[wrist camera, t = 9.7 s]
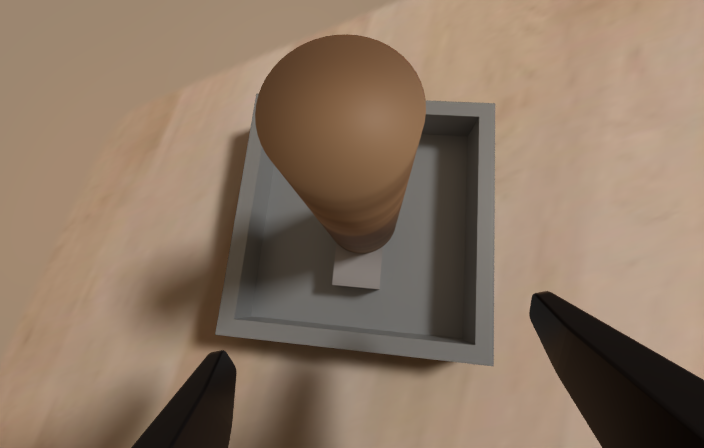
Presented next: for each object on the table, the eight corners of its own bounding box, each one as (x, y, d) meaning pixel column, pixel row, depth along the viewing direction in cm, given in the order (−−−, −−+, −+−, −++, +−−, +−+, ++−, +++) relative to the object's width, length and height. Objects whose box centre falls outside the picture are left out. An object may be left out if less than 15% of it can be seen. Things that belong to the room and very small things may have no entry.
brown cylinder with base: (390, 290, 18) (416, 285, 6) (325, 284, 18) (228, 267, 6) (398, 169, 19) (433, -28, 7) (338, 165, 19) (278, -29, 8)
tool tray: (473, 353, 17) (493, 366, 14) (240, 328, 19) (215, 334, 16) (477, 131, 20) (495, 103, 17) (273, 121, 21) (256, 93, 18)
